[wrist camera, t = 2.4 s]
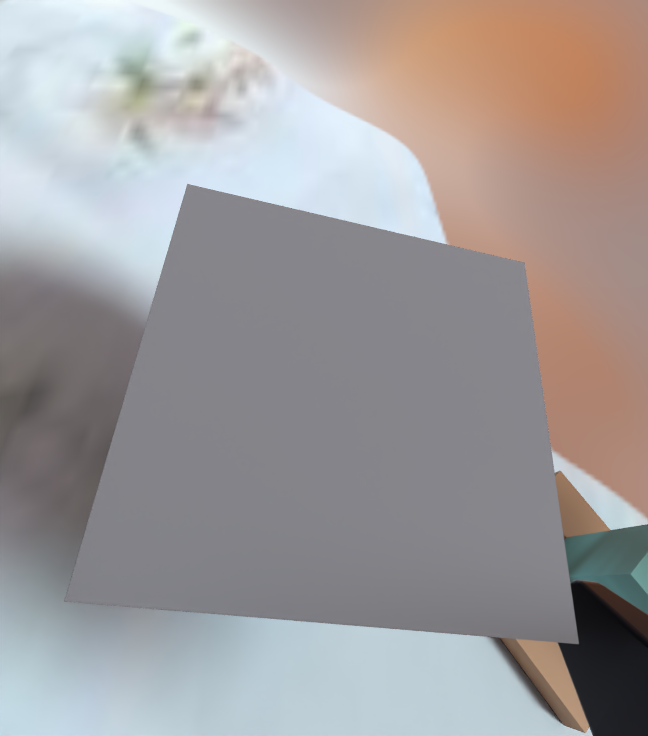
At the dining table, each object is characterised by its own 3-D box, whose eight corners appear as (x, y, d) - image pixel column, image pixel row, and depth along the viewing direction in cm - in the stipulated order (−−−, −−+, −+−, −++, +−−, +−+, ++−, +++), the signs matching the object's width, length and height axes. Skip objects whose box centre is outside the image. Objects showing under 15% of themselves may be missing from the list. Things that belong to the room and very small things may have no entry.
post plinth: (564, 725, 16) (723, 782, 11) (448, 568, 17) (545, 557, 12) (650, 604, 18) (811, 607, 13) (544, 476, 20) (655, 437, 15)
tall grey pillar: (324, 611, 16) (578, 644, 5) (163, 596, 15) (64, 601, 4) (335, 457, 18) (524, 262, 7) (196, 438, 17) (187, 183, 7)
